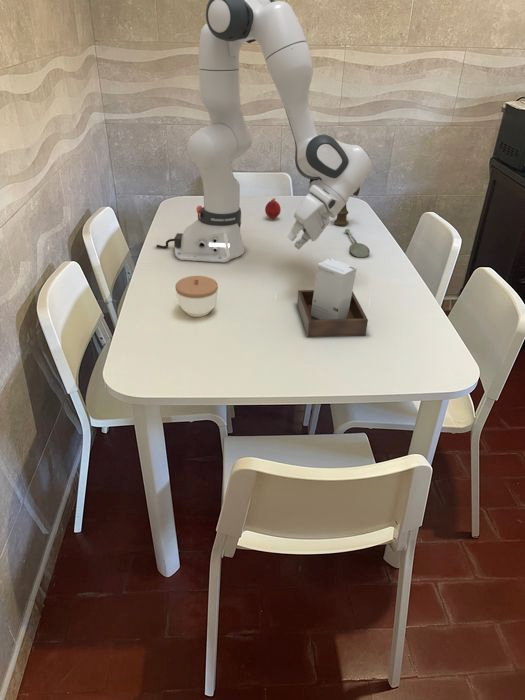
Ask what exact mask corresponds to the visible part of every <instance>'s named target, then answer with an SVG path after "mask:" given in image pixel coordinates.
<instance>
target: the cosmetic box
mask: <svg viewBox="0 0 525 700" xmlns="http://www.w3.org/2000/svg"><path fill="white" fill-rule="evenodd" d="M356 274H357V267H355V266H352V265H349V264H347V263H345V262H343V261H339V260H337V259H334V258H331V257H329V258H327V259H325V260H323V261H321V262H319V263H317V268H316V275H315V281H314V286H313V290H314V294H313V301H312V308H311V316H312V317H314V318H317V319H319V320H327V319H347V318H348V312H349V307H350V302H351V296H352V291H353V290H354V286H355V285H354V284H355V279H356ZM353 292H354V291H353Z"/></svg>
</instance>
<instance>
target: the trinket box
mask: <svg viewBox="0 0 525 700" xmlns="http://www.w3.org/2000/svg"><path fill="white" fill-rule="evenodd" d="M218 289H219V284H218V282H217V281H216V280H215V279H214V278H213V277H209V276H204V275H191V276H186V277H182V278H181V279H179V280H178V281H176V283H175V292H176V299H177V303H178V305H179V307H180V309H181V310H182V311H183V312H185V313H186V315H187V316H190V317H194V318H200V317H201V318H202V317H205V316H207V315H208V314H209V313H210V312H211V311H212V310H213V309H214V308H215V306H216V303H217V300H218Z"/></svg>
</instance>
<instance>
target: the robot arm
mask: <svg viewBox="0 0 525 700" xmlns="http://www.w3.org/2000/svg"><path fill="white" fill-rule="evenodd" d="M205 21H206V24H204V25H203V26H202V27H201V30H200V35H199V43H198V81H199V82H198V83H199V84H198V85H199V99H200V102H201V104H203V105H204V106H205V108H206V110H207V113H208V116H209V121H210V125H206V126H203V127H201V128H199V129H198V130H197V131H195V132H194V133H193V134H192V135H190V137H189V139H188V140H187V144H186V151H187V155H188V157H189V160H190V161H191V162H192V164H194V165H195V166H196V167H197V170H198V171H199V174H200V175H199V176H200V178H201V183H202V189H203V190H202V191H203V193H202V194H203V206H202V205H197V207H196V213H197V220H195V221H194V222H193V223H192V224H190V225H188V226H187V227H186V228H185V229H184V230H183V232H181V233H180V232H177V233H176V235H175V236H174V238H169V239H166V241H165V245H161V244H156V245H155V246H156V248H159V249H168V248H169V243H170V242H173V244H174V255H175V257H176V258H177V259H179V260H181V261H194V262H209V263H210V262H211V263H228V262H229V261H230V260H232V259H235V258H238V257H240V256H242V255H244V253H245V248H244V245H243V239H242V231H241V225H242V208H241V207H240V205H241V204H240V203H241V202H240V200H241V198H240V194H241V193H240V191H241V189H240V188H241V187H240V185H241V184H240V183H239V181H238V179H237V178H236V177H235V176H234V172H233V168H232V161H234V160H236V159H238V158H241V157H242V156H243V155H244V154H246V152H247V151H248V150H249V149H250V148H251V145H252V142H253V133H252V130H251V128H250V127H249V125H248V124H247V123H246V121H245V118H244V114H243V108H242V104H241V91H240V89H241V88H240V51H241V48H242V46H243V45H244V43H248V44H251V43H254V42H256V43H258V45H259V46H260V49H261V52H262V55H263V58H264V61H265V63H266V67H267V69H268V71H269V74H270V77H271V80H272V82H273V84H274V86H275V88H276V90H277V93H278V95H279V98H280V100H281V102H282V105H283V107H284V110H285V113H286V117H287V121H288V124H289V127H290V130H291V134H292V137H293V141H294V146H295V152H294V164H295V167H296V171H297V172H298V173H299V174H300V175H301V176H302V177H304V178H305V179H308V180H310V179H318V178H321V179H322V182H321V183H320V184H319V185H318V186H317V185H312V186H311V188H310V189H309V188H308V193H309V194H308V193H307V194H306V195H305V197H304V198H303V199H302V200H301V202H300V203H299V205H298V206H297V207H296V209H295V211H294V214H293V218H294V219H295V222H294V223H293V226H292V227H291V230H290V232H288V234H287V238H288V239H289V240H290V241H291V242H293V241H295V240H296V238H297V237H298V234H299V233H300V232H301V231H302V232H303V233H302V235H301V237H300V238H299V239H298V240H296V241H295V242H294V244H293V246H294V247H295V248H296V249H297V250H300V249H302V247H303V246H304V245H306V244H307V243H308V242H309V241H310V240H311V242H316V241H317V240H318V238H319V237H320V236H321V235H322V233H323V232H324V231H325V229H326V228H327V226H328V225H329V223H330V218H332V219H335V218H337V214H338V213H339V212H340V211H341V209H342V208H343V207H344V206H345V204H346V205H347V203H348V201H349V200H350V197H351V196H353V193H355V192H356V191H357V190H358V188H359V187H360V188H361V186H362V185H363V183H364V182H365V180H366V179H367V178H368V176H369V174H370V172H371V170H372V166H373V163H372V160H371V157H370V155H369V154H368V152H367V151H366V150H365V148H363V147H361V146H360V145H358V144H349V143H345V142H343V141H341V140H340V141H339V140H338V139H335V138H334V137H332V136H330V135H327V134H319V135H318V133H317V130H316V126H315V121H314V119H313V116H312V112H311V109H310V102H309V94H310V93H309V92H310V88H311V87H310V86H311V83H312V78H313V75H314V67H313V60H312V59H313V58H312V54H311V51H310V48H309V44H308V41H307V37H306V35H305V33H304V30H303V28H302V25H301V23H300V21H299V19H298V17H297V15H296V13H295V11H294V10H293V7H292V6H291V5H290V4H289V3H288V2H287V1H283V0H208V1H207V5H206V8H205Z"/></svg>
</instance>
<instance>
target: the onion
mask: <svg viewBox="0 0 525 700" xmlns="http://www.w3.org/2000/svg"><path fill="white" fill-rule="evenodd" d="M281 211H282V208H281V205H280V203H279V202H278V201H276V198H275V197H273V198H271V199H270V200H269V202H267V203H266V205H265V208H264V212H265V215H266V216H267V217H268V218H269V219H271V220H275V219H276V218H277V217H279V216H280V214H281Z"/></svg>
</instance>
